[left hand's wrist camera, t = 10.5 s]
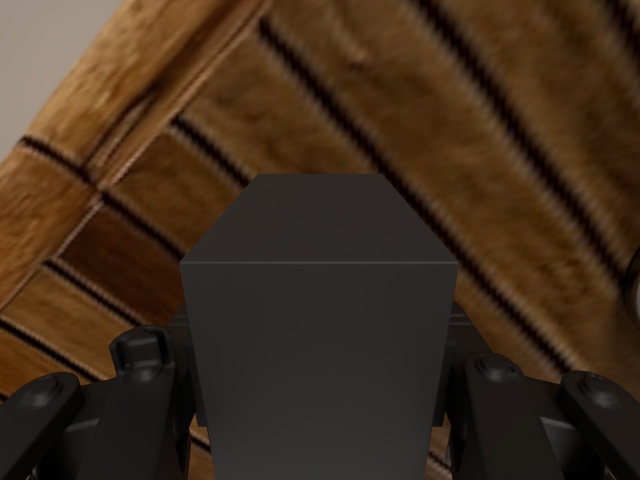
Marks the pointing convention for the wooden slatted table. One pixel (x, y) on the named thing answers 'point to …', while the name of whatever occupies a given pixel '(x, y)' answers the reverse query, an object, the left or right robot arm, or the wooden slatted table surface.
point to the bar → (319, 330)
